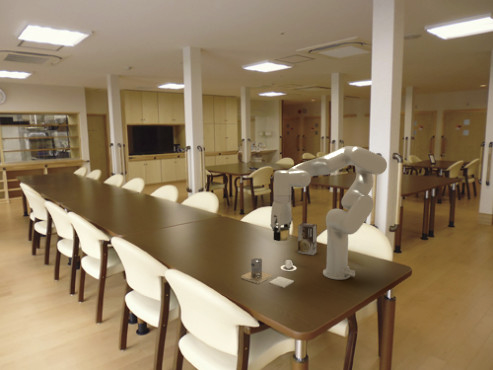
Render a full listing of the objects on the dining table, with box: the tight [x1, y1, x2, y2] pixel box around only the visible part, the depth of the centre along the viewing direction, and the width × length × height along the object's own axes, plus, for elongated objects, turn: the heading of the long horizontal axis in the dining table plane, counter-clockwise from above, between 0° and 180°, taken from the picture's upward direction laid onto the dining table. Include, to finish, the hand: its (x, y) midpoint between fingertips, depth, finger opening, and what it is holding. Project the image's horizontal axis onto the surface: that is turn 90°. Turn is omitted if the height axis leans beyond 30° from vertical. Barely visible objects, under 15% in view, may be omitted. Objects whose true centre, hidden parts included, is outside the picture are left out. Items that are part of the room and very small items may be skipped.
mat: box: [268, 275, 295, 289], centre depth 158 cm, size 8×8×1 cm
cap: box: [277, 226, 290, 242], centre depth 155 cm, size 6×6×5 cm
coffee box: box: [297, 222, 318, 256], centre depth 197 cm, size 9×6×16 cm
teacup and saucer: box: [280, 259, 297, 272], centre depth 176 cm, size 9×8×4 cm
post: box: [240, 257, 272, 285], centre depth 163 cm, size 10×10×8 cm
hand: (281, 238), depth 155 cm, fingers closed on cap, 6 cm apart
